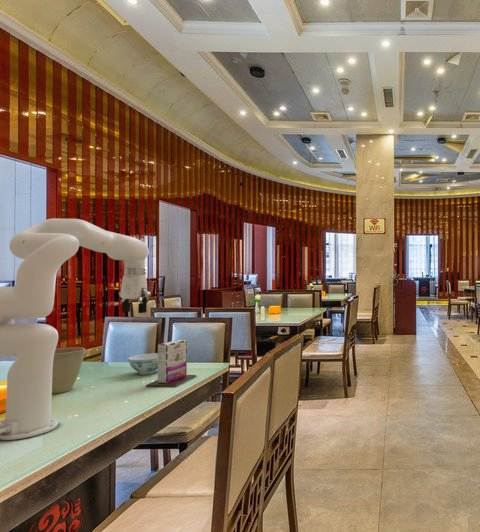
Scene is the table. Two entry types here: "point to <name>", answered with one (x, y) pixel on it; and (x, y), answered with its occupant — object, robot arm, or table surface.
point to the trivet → (171, 384)
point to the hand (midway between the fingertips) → (134, 312)
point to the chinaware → (144, 363)
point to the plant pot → (66, 368)
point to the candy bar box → (172, 361)
